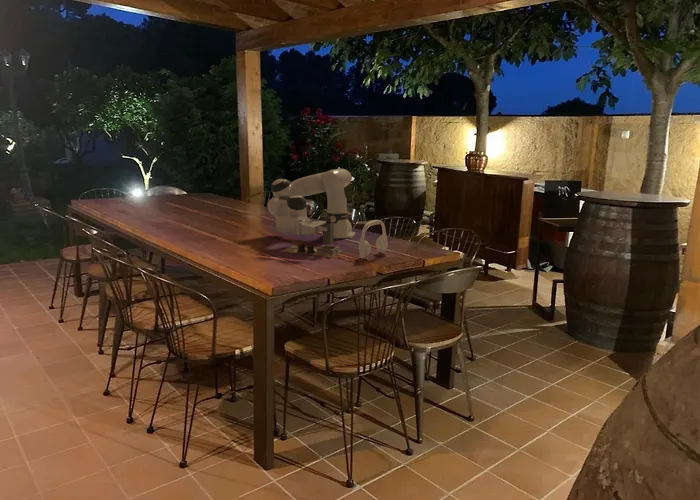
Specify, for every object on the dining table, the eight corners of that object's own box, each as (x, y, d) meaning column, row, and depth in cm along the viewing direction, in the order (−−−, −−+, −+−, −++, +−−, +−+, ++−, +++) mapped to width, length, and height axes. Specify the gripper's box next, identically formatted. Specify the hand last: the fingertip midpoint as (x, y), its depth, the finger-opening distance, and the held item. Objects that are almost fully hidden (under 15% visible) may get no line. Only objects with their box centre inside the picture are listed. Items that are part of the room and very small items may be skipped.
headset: (366, 260, 265) (368, 223, 262) (354, 258, 269) (355, 221, 266) (389, 253, 281) (391, 219, 277) (378, 251, 285) (379, 217, 281)
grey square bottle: (325, 242, 277) (326, 216, 275) (333, 242, 276) (333, 217, 273) (322, 243, 274) (323, 217, 271) (330, 244, 272) (330, 218, 270)
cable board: (294, 247, 291) (294, 238, 290) (342, 252, 282) (342, 243, 281) (280, 252, 277) (280, 243, 276) (330, 258, 267) (330, 249, 266)
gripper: (313, 229, 288) (337, 231, 283) (295, 235, 269) (321, 238, 264) (313, 217, 287) (338, 219, 282) (295, 222, 268) (321, 224, 263)
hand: (329, 228), depth 273 cm, fingers closed on grey square bottle, 4 cm apart
